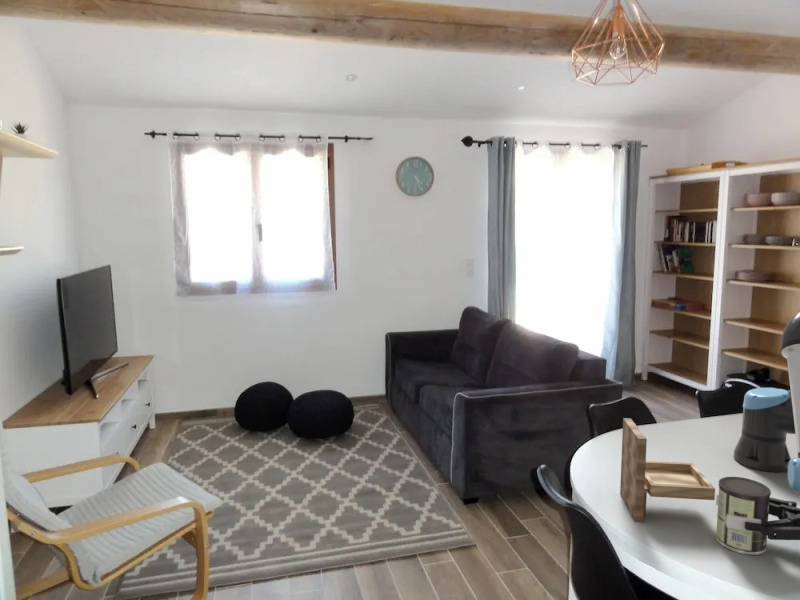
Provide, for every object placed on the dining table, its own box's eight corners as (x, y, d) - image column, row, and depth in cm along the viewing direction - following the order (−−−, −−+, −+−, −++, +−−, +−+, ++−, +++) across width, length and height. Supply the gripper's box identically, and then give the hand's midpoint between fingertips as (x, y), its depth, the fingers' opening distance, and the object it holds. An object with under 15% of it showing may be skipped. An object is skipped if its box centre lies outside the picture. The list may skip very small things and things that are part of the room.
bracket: (712, 526, 136) (718, 441, 133) (634, 521, 139) (638, 438, 136) (690, 497, 151) (695, 420, 148) (620, 493, 154) (623, 418, 151)
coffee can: (755, 533, 133) (759, 477, 131) (774, 557, 123) (779, 498, 121) (708, 528, 135) (712, 474, 133) (724, 552, 125) (728, 494, 123)
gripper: (856, 570, 112) (732, 551, 119) (813, 515, 134) (710, 502, 141) (859, 535, 111) (735, 518, 118) (816, 486, 133) (712, 474, 140)
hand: (721, 509), depth 130 cm, fingers closed on coffee can, 10 cm apart
